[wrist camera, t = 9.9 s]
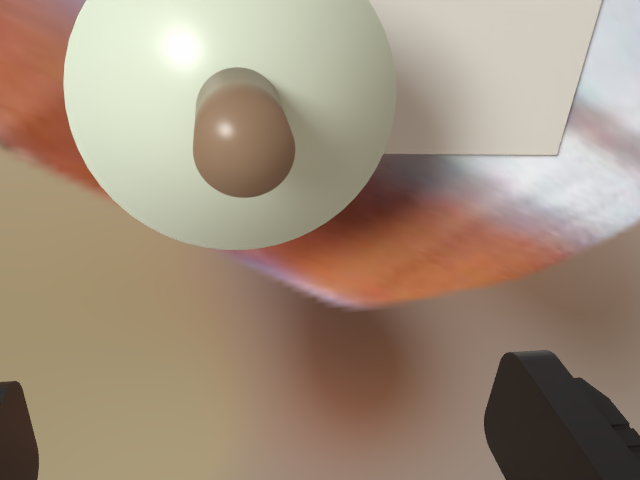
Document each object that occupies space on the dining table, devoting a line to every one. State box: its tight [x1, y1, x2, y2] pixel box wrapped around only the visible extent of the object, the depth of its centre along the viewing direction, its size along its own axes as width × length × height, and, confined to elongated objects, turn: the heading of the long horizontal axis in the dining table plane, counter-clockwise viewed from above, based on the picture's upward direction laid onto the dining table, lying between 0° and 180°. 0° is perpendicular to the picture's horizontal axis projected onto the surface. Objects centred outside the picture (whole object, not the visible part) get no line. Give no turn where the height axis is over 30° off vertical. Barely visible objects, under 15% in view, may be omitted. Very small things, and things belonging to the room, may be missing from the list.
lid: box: [64, 0, 396, 250], centre depth 22 cm, size 14×14×6 cm
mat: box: [369, 0, 602, 155], centre depth 35 cm, size 16×16×1 cm
